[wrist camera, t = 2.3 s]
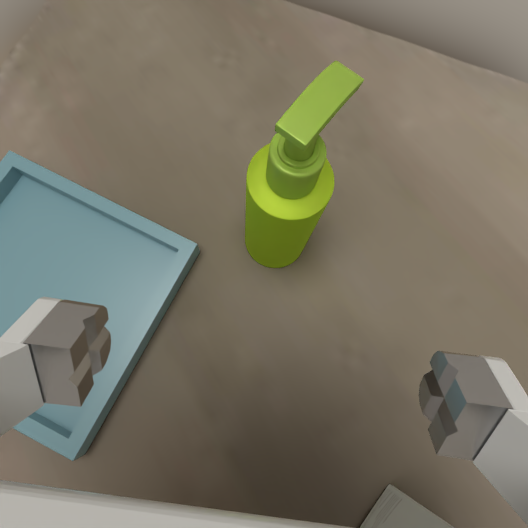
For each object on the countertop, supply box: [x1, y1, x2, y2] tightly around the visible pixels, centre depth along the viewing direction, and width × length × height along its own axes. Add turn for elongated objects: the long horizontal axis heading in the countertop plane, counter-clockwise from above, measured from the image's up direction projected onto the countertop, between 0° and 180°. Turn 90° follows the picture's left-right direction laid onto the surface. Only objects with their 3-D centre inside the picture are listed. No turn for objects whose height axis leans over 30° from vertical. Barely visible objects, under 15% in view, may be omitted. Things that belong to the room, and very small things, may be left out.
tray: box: [0, 150, 200, 461], centre depth 35 cm, size 20×20×2 cm
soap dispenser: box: [245, 61, 364, 268], centre depth 29 cm, size 6×7×20 cm
